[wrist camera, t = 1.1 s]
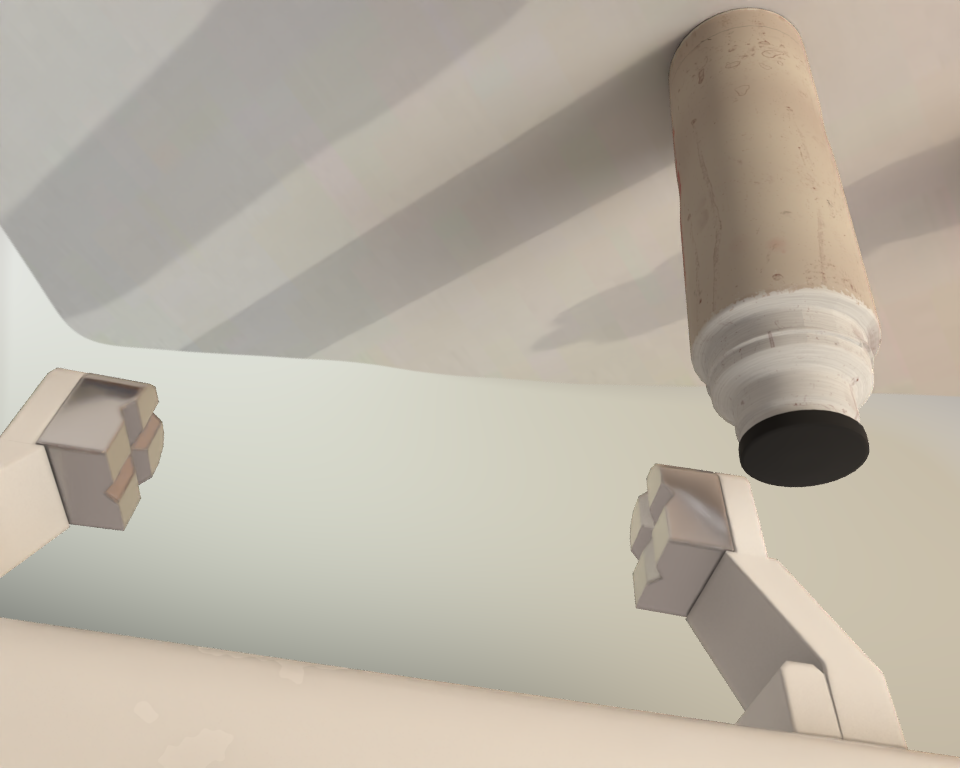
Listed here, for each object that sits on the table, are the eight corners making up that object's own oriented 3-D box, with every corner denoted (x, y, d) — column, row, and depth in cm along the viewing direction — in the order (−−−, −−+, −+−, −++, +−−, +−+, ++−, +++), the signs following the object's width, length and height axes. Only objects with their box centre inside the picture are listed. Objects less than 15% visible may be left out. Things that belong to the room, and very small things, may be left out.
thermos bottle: (689, 143, 53) (727, 520, 36) (651, 40, 47) (675, 429, 31) (815, 99, 50) (921, 493, 33) (790, -17, 44) (901, 385, 27)
